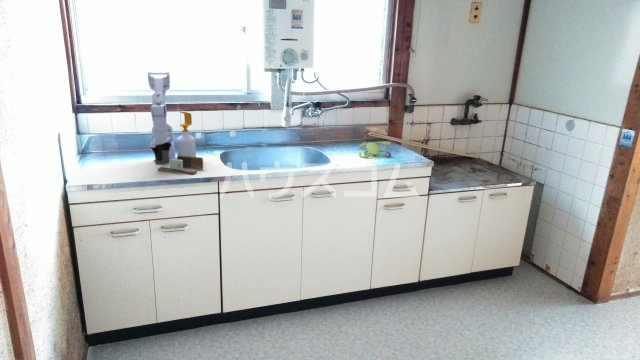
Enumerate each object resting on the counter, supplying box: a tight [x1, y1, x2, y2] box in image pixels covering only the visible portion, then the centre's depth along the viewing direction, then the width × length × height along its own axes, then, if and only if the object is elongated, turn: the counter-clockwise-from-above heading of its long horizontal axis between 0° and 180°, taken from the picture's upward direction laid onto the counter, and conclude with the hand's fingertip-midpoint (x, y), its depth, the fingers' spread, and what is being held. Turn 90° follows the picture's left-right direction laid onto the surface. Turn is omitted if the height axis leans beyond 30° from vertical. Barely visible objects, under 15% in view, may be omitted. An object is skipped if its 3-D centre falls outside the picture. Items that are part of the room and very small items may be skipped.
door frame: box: [157, 154, 204, 176], centre depth 217 cm, size 10×18×6 cm, turn 76°
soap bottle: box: [176, 111, 197, 157], centre depth 233 cm, size 9×9×25 cm
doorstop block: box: [154, 150, 170, 166], centre depth 214 cm, size 4×4×6 cm
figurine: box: [358, 141, 392, 159], centre depth 261 cm, size 18×27×6 cm
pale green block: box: [169, 159, 184, 170], centre depth 213 cm, size 2×6×4 cm, turn 76°
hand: (162, 159), depth 214 cm, fingers closed on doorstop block, 4 cm apart
